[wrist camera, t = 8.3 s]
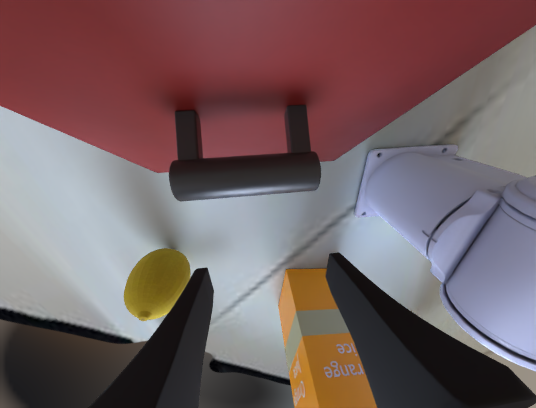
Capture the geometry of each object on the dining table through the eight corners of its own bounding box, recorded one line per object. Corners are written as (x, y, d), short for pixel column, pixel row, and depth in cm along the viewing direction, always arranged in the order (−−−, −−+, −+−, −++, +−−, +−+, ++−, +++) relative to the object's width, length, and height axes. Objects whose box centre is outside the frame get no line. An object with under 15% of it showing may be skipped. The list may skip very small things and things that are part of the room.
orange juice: (337, 267, 28) (488, 552, 11) (322, 304, 32) (413, 548, 15) (284, 268, 27) (358, 588, 9) (276, 306, 31) (318, 572, 14)
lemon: (139, 237, 21) (90, 305, 15) (189, 231, 22) (164, 294, 15) (158, 270, 24) (124, 341, 17) (202, 264, 25) (186, 331, 18)
